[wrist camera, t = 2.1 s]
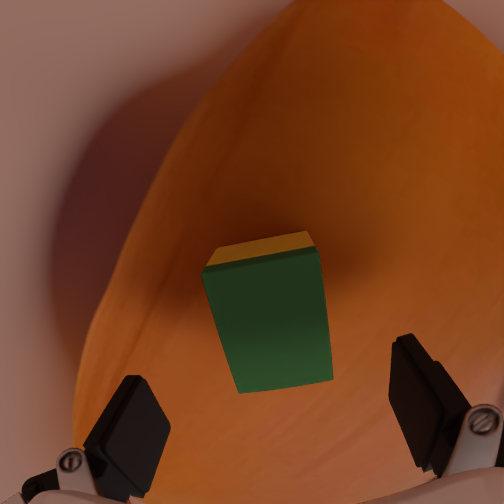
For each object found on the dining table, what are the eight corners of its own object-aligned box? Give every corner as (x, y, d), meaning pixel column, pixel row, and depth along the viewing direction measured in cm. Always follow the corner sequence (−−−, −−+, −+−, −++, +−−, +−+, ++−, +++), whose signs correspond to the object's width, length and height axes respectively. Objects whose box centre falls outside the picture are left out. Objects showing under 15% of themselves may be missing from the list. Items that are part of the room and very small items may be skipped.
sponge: (216, 247, 16) (199, 273, 12) (307, 230, 15) (318, 251, 11) (244, 351, 18) (238, 394, 14) (322, 338, 17) (333, 380, 13)
